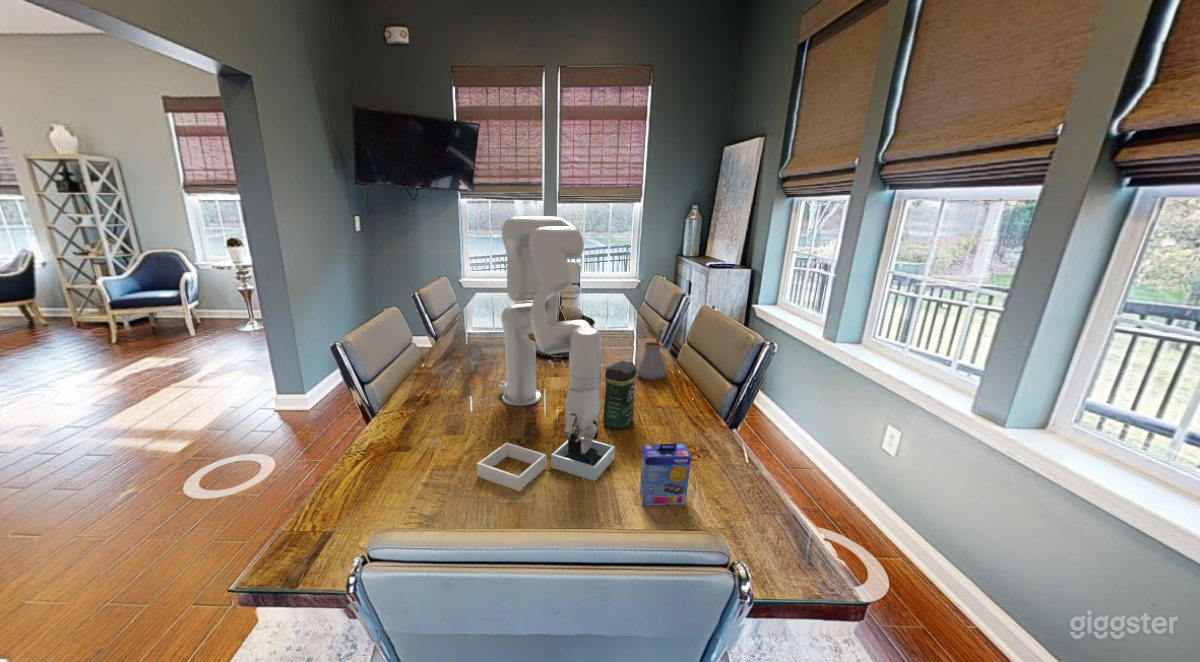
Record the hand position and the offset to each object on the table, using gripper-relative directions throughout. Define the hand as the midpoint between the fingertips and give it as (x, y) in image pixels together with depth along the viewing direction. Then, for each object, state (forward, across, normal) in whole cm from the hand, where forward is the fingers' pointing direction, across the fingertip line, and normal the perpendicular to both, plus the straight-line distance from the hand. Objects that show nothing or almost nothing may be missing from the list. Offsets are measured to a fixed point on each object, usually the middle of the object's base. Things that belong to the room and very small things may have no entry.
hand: (583, 445), depth 110 cm
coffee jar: (+5, -24, -1) cm, 24 cm away
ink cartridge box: (+5, +4, +22) cm, 23 cm away
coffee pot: (+5, -69, -6) cm, 69 cm away
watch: (+5, 0, 0) cm, 5 cm away
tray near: (+5, +12, -13) cm, 18 cm away
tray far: (+5, 0, 0) cm, 5 cm away
